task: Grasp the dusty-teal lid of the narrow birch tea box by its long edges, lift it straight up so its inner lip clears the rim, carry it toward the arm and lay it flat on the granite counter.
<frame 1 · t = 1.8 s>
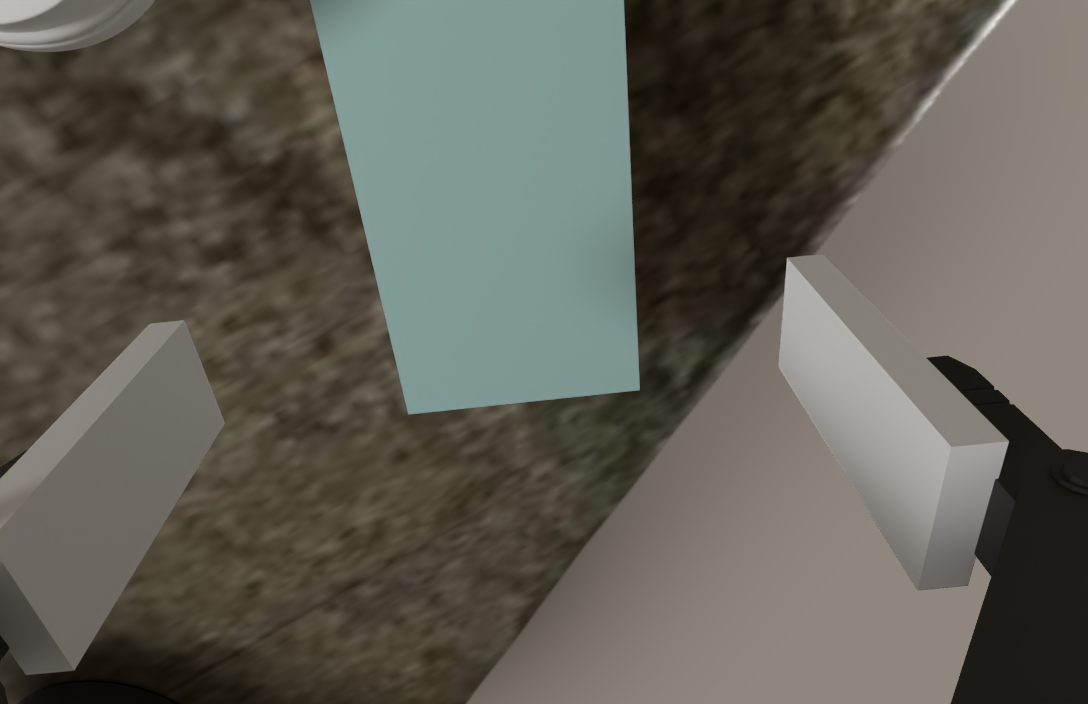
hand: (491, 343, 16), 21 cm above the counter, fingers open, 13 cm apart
lid: (496, 178, 27), point 8 cm above the counter, touching tea box
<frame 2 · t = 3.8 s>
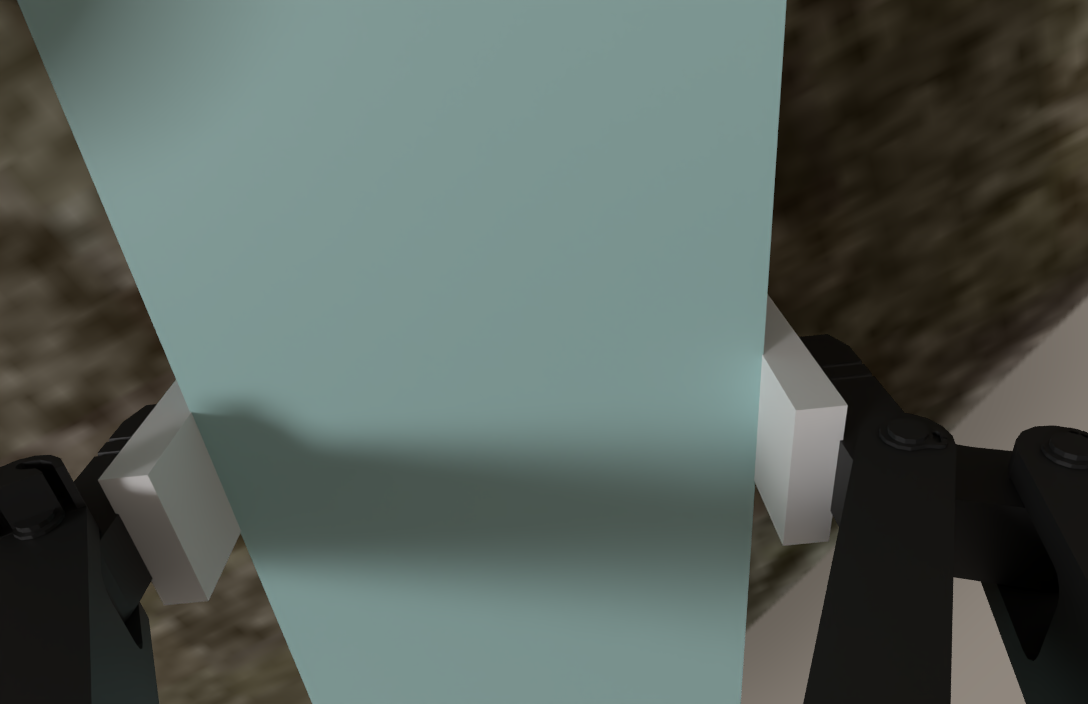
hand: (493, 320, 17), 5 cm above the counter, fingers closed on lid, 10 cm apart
lid: (489, 386, 14), point 8 cm above the counter, touching gripper, tea box
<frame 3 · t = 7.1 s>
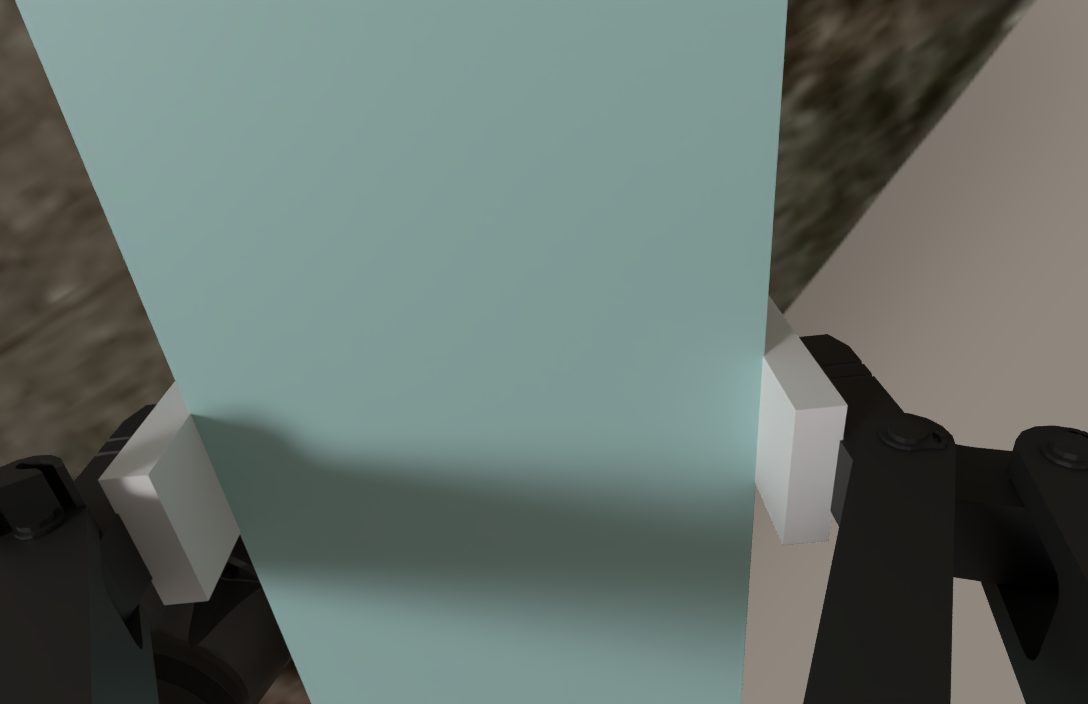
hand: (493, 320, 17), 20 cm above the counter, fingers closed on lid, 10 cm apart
lid: (489, 387, 14), point 23 cm above the counter, touching gripper
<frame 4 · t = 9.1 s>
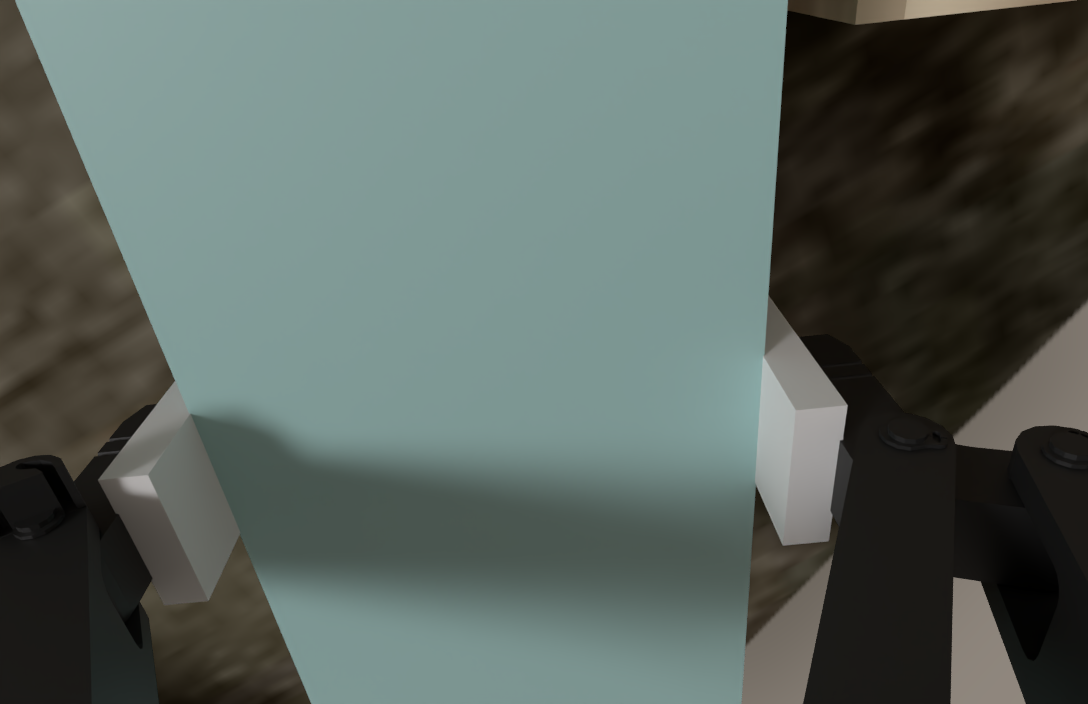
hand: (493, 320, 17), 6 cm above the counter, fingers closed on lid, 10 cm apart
lid: (489, 387, 14), point 9 cm above the counter, touching gripper
when the fingers open (1 cm above the counter, at t = 10.5 s): lid drops 3 cm, point 1 cm above the counter.
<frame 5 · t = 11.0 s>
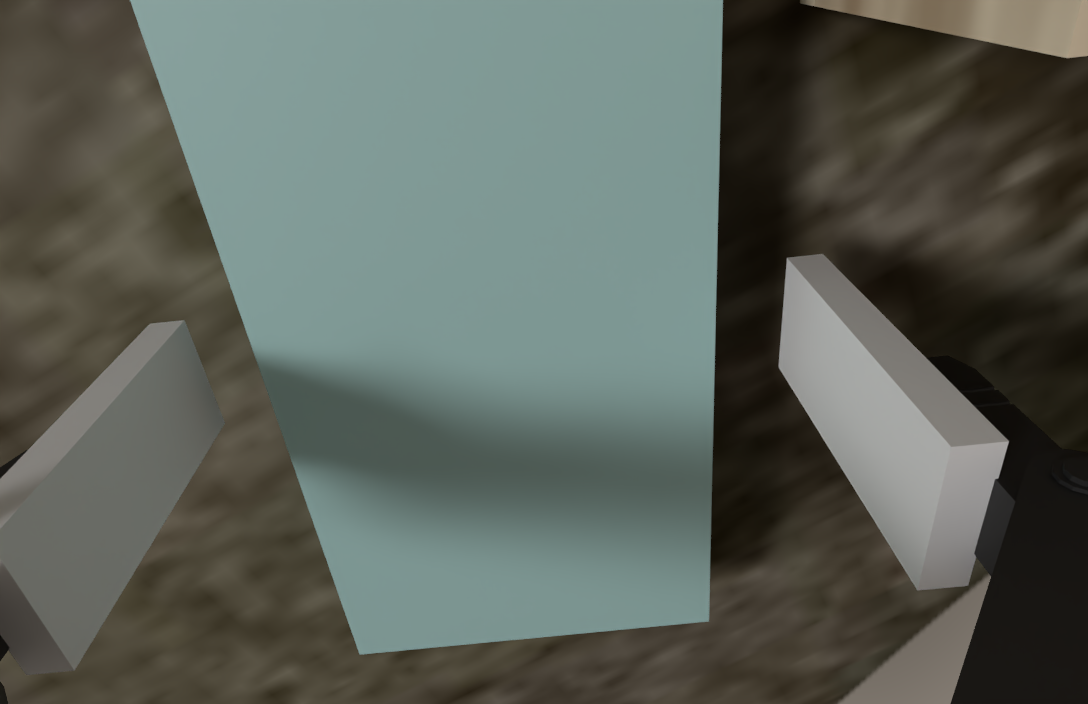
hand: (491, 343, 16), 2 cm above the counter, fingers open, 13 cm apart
lid: (491, 319, 17), point 1 cm above the counter
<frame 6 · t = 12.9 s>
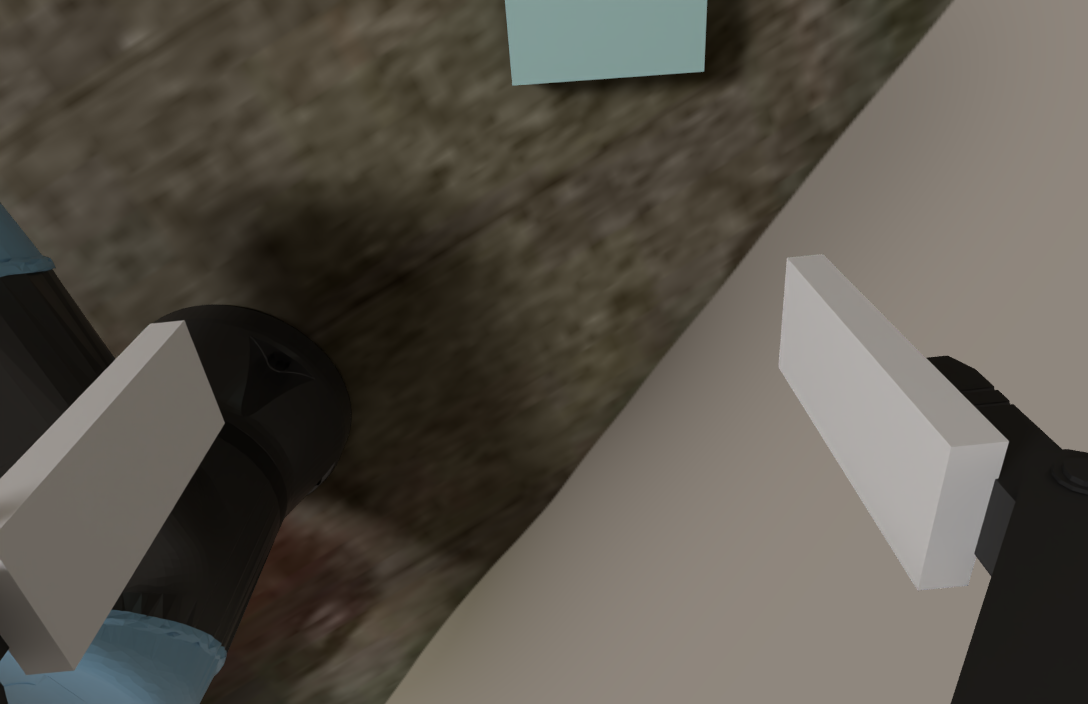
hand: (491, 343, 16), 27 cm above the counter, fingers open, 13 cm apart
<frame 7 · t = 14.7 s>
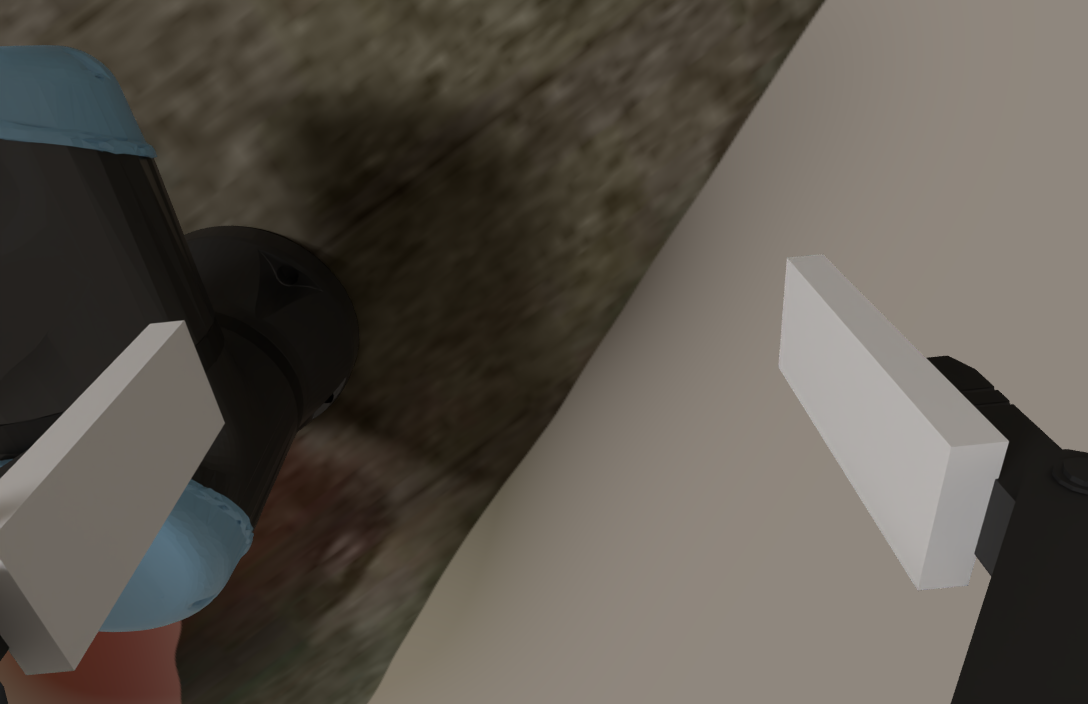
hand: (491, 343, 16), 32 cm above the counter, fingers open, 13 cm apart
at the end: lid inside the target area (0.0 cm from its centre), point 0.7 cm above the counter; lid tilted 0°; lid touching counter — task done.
